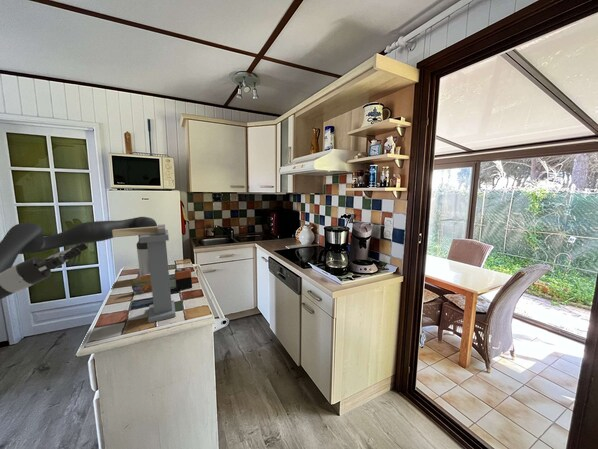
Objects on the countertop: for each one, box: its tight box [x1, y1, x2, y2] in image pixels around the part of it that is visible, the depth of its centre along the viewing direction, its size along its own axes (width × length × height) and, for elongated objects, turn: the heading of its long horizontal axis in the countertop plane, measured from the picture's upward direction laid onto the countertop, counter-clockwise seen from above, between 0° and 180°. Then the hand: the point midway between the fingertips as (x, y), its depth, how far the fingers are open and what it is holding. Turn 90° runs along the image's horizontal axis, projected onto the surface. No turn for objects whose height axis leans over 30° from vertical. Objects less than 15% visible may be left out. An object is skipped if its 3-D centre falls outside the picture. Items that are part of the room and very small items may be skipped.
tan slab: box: [112, 224, 166, 238], centre depth 92 cm, size 10×16×2 cm, turn 118°
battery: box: [174, 266, 193, 291], centre depth 122 cm, size 4×7×10 cm, turn 123°
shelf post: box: [138, 229, 177, 324], centre depth 97 cm, size 12×9×32 cm
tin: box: [131, 274, 152, 295], centre depth 119 cm, size 15×3×8 cm, turn 123°
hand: (83, 247), depth 85 cm, fingers open, 8 cm apart
